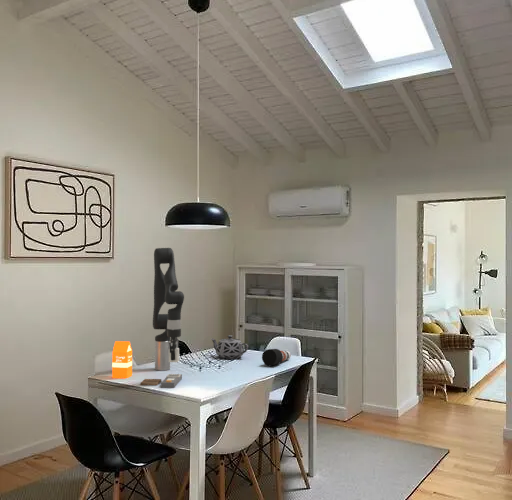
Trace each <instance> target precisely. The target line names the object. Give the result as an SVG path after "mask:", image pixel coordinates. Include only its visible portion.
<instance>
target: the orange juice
mask: <svg viewBox="0 0 512 500" xmlns="http://www.w3.org/2000/svg"><path fill="white" fill-rule="evenodd" d="M131 345H132V344H131V341H124V340H123V341H121V340H116V341H114V345H113V349H112V355H111V357H112V358H111V359H112V362H111V364H112V365H111V371H112V373H111V378H112V379H126V378H127V379H129V378H130V377H132V376H133V348H132V346H131Z"/></svg>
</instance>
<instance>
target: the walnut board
mask: <svg viewBox="0 0 512 500" xmlns="http://www.w3.org/2000/svg"><path fill="white" fill-rule="evenodd" d="M161 382H162V378H144V379H143V380H142V381H140V384H139V385H140V386H158V385H160V384H161Z"/></svg>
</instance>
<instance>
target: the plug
mask: <svg viewBox="0 0 512 500" xmlns="http://www.w3.org/2000/svg"><path fill="white" fill-rule="evenodd" d="M172 350H173V349H172ZM169 362H170V363H179V362H180V348H179V347H178V348H176V349H175V360H171V353H170V349H169Z"/></svg>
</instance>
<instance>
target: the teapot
mask: <svg viewBox="0 0 512 500" xmlns="http://www.w3.org/2000/svg"><path fill="white" fill-rule="evenodd" d="M210 340H211V341H212V343H213V348H214V350H215V354H216V355H217V357H219V358H220V357H221V358H220V359H224V358H226V360H233V359H234V360H235V359H239V358H241V357H242V356H243V355H244V354H245V353H246V352H247V351H248V350H249V345H248V343H246V342H245V343H244V342H242V341H241V340H240V339H238V338H233V335H227V338H222V339H219V341H218V343H217V340H216V339H215V338H210ZM244 346H245V348H244Z"/></svg>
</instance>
